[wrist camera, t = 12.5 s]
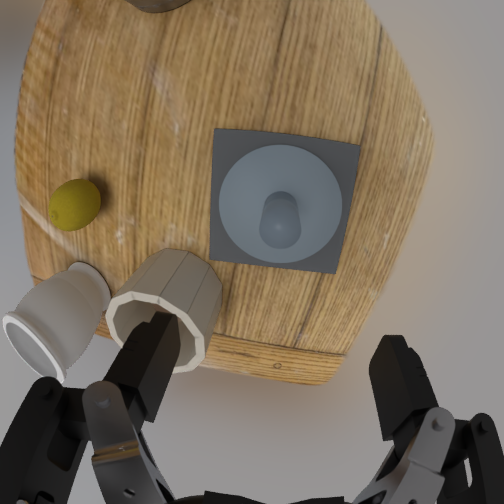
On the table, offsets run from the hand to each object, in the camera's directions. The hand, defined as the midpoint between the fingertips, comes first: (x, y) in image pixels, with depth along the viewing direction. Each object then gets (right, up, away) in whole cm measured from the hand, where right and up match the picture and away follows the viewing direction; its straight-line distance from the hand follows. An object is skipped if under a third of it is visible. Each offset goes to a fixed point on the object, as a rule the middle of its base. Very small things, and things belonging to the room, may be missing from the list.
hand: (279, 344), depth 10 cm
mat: (+2, +8, +17) cm, 19 cm away
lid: (+2, +8, +17) cm, 19 cm away
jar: (-25, -2, +25) cm, 36 cm away
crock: (-10, -1, +23) cm, 25 cm away
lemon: (-20, +10, +19) cm, 30 cm away
